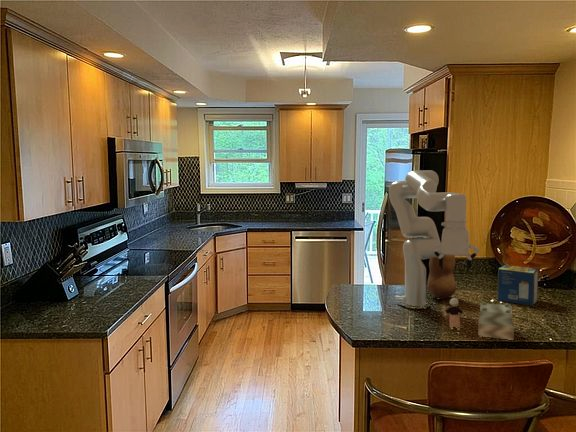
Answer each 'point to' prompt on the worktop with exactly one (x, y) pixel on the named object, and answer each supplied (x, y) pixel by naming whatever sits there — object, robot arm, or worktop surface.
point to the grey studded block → (496, 321)
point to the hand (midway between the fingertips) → (454, 269)
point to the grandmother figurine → (454, 313)
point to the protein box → (518, 285)
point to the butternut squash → (442, 277)
